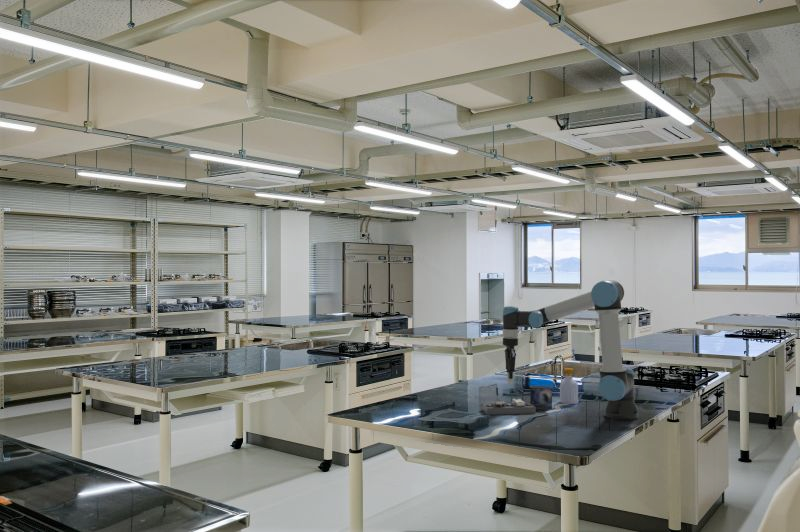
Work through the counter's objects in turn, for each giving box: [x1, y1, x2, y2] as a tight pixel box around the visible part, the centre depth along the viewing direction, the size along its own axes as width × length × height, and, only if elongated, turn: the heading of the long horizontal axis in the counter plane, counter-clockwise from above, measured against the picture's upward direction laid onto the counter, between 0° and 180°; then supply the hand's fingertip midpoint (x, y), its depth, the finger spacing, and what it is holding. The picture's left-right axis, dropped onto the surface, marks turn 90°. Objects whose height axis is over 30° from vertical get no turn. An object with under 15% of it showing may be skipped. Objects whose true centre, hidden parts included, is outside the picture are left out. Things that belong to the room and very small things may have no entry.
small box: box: [529, 385, 553, 410], centre depth 316 cm, size 11×6×10 cm, turn 82°
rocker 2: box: [512, 398, 525, 406], centre depth 307 cm, size 8×4×1 cm, turn 5°
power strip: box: [481, 400, 549, 415], centre depth 307 cm, size 10×32×5 cm, turn 96°
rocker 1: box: [492, 400, 505, 404], centre depth 306 cm, size 8×4×1 cm, turn 5°
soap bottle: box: [559, 355, 579, 405], centre depth 327 cm, size 9×9×25 cm
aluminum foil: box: [590, 373, 600, 379], centre depth 394 cm, size 23×7×3 cm, turn 43°
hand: (510, 384), depth 310 cm, fingers closed
